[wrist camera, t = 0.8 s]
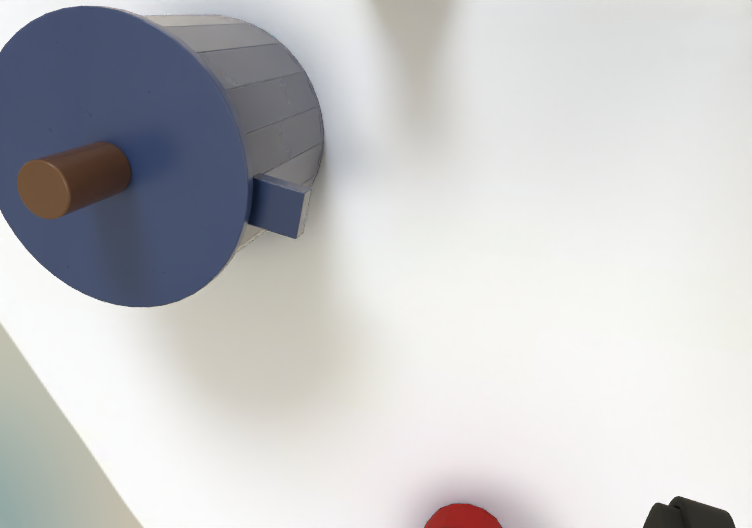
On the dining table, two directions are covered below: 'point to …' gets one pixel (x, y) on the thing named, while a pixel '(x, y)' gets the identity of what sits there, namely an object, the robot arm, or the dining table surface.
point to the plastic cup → (462, 517)
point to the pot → (263, 114)
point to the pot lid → (120, 156)
